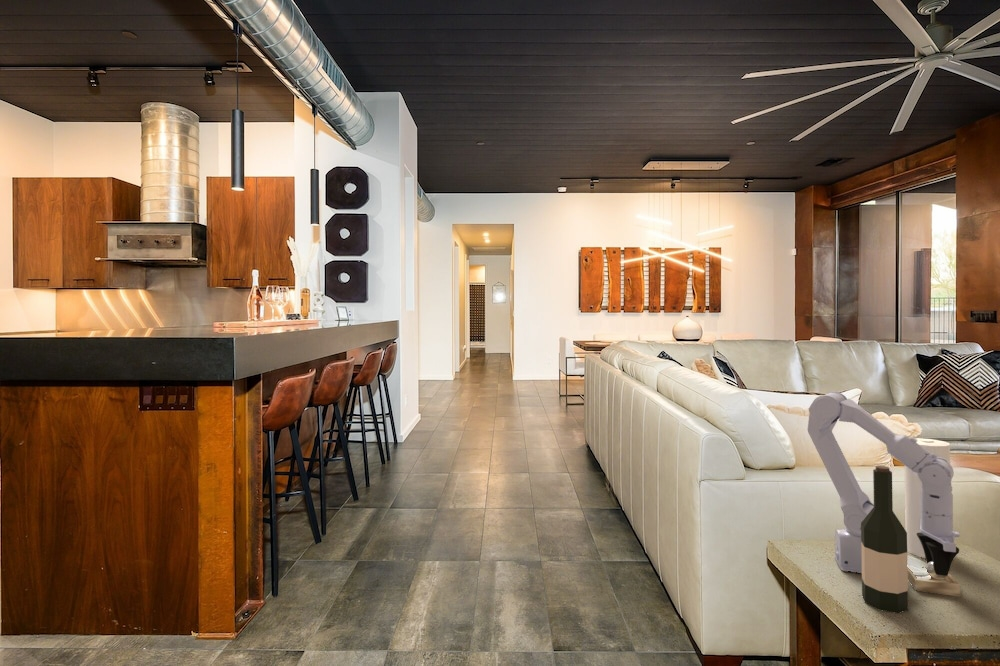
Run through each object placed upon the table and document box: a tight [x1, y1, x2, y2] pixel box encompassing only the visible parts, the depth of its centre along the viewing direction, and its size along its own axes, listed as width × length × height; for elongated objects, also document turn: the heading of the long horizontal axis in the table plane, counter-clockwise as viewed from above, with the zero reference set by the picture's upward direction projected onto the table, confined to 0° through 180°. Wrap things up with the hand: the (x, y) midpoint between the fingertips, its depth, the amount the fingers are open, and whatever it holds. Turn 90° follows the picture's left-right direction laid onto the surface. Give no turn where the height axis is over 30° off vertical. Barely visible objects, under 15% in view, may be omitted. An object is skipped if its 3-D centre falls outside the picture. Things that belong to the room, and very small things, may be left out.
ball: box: [925, 561, 950, 579], centre depth 123 cm, size 4×4×4 cm
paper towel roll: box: [904, 437, 951, 559], centre depth 140 cm, size 9×9×30 cm
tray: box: [907, 566, 961, 597], centre depth 124 cm, size 8×8×3 cm
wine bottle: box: [861, 465, 909, 614], centre depth 117 cm, size 8×8×30 cm
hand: (937, 570), depth 123 cm, fingers closed on ball, 4 cm apart
